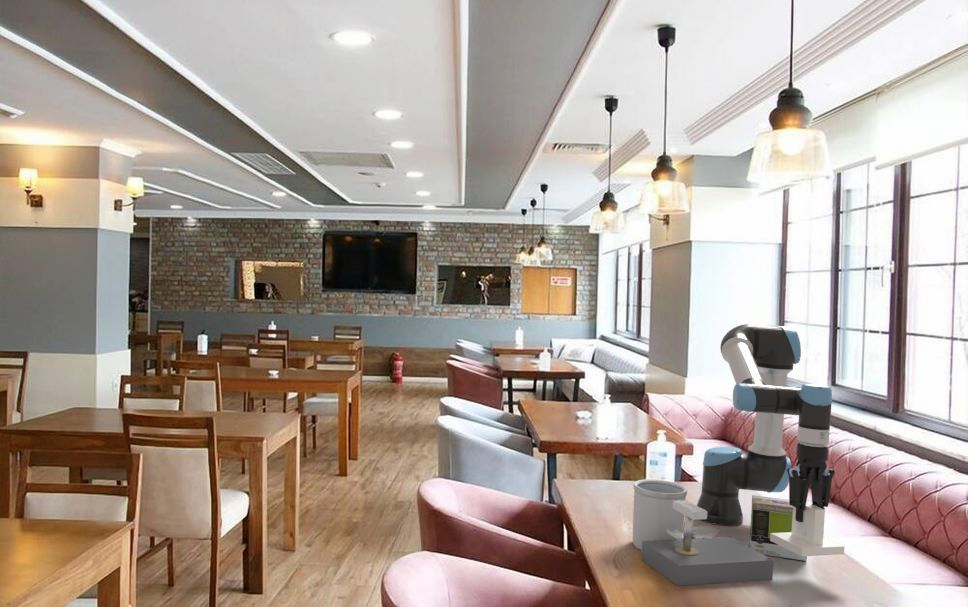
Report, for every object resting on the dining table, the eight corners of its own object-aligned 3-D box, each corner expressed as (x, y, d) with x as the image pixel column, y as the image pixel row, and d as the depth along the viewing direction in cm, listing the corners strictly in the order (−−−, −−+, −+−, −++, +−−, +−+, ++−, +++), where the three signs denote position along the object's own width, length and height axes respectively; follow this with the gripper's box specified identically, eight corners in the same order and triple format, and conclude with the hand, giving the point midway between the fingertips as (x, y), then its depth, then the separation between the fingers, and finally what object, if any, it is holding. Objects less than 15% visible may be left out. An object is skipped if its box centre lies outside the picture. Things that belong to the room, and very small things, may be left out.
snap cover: (810, 538, 199) (812, 498, 199) (843, 554, 188) (846, 511, 188) (770, 540, 196) (772, 499, 195) (802, 556, 184) (804, 512, 184)
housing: (729, 554, 207) (730, 536, 207) (772, 579, 190) (773, 559, 190) (641, 559, 199) (642, 540, 199) (677, 585, 182) (679, 564, 182)
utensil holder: (674, 559, 200) (678, 495, 200) (622, 547, 208) (626, 485, 208) (689, 546, 213) (693, 485, 213) (640, 534, 221) (644, 476, 221)
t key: (663, 538, 200) (666, 496, 200) (676, 538, 202) (679, 496, 201) (690, 556, 187) (693, 511, 187) (704, 556, 189) (707, 511, 189)
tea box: (803, 551, 215) (807, 501, 214) (806, 562, 205) (810, 509, 205) (748, 542, 219) (752, 493, 219) (749, 553, 210) (752, 501, 210)
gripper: (797, 447, 186) (791, 539, 186) (848, 447, 190) (842, 537, 191) (777, 441, 193) (771, 530, 193) (827, 441, 198) (821, 528, 198)
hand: (806, 533), depth 192 cm, fingers closed on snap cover, 3 cm apart
